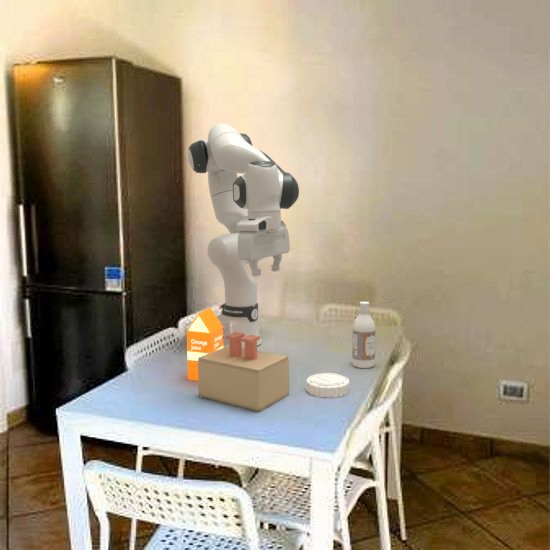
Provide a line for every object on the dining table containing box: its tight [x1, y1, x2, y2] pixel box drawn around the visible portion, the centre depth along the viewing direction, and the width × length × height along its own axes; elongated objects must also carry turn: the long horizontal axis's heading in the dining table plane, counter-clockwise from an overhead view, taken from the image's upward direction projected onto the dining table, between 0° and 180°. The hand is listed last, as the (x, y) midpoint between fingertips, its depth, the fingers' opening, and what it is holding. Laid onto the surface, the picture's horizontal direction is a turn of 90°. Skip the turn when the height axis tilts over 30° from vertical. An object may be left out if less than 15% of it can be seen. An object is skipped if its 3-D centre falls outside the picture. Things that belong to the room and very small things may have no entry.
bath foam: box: [351, 301, 376, 369], centre depth 189 cm, size 7×7×20 cm
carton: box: [197, 358, 290, 413], centre depth 165 cm, size 20×14×10 cm
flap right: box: [228, 335, 289, 373], centre depth 161 cm, size 10×14×7 cm
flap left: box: [198, 332, 245, 367], centre depth 166 cm, size 10×14×7 cm
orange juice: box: [186, 307, 223, 382], centre depth 180 cm, size 8×9×20 cm
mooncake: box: [305, 372, 351, 399], centre depth 169 cm, size 12×12×4 cm
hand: (266, 273), depth 166 cm, fingers open, 8 cm apart
